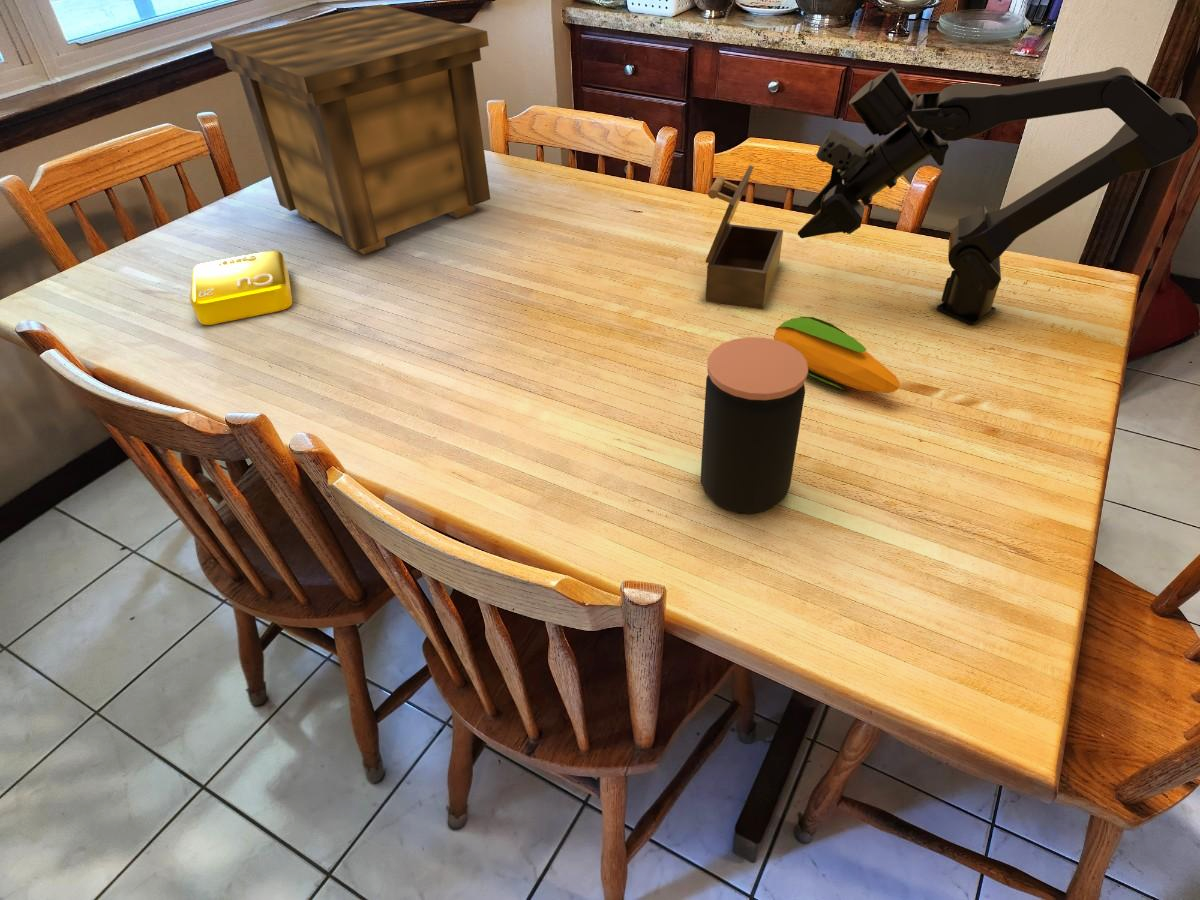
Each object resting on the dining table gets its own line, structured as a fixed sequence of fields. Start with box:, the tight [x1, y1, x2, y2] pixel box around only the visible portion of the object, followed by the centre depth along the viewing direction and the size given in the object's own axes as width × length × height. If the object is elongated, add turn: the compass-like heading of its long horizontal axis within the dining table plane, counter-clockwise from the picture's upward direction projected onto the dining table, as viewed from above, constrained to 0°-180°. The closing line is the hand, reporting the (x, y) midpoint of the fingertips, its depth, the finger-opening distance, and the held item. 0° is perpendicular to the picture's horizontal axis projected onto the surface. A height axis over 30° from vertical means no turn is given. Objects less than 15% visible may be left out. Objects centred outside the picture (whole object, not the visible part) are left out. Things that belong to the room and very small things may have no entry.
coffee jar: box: [699, 336, 808, 515], centre depth 90 cm, size 11×11×18 cm
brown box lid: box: [704, 164, 755, 264], centre depth 127 cm, size 10×16×5 cm
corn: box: [773, 316, 901, 394], centre depth 110 cm, size 7×8×20 cm
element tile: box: [189, 250, 293, 326], centre depth 135 cm, size 15×15×5 cm
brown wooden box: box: [705, 223, 784, 310], centre depth 132 cm, size 9×16×6 cm, turn 161°
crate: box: [209, 4, 491, 256], centre depth 150 cm, size 35×35×33 cm
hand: (803, 222), depth 124 cm, fingers open, 9 cm apart
